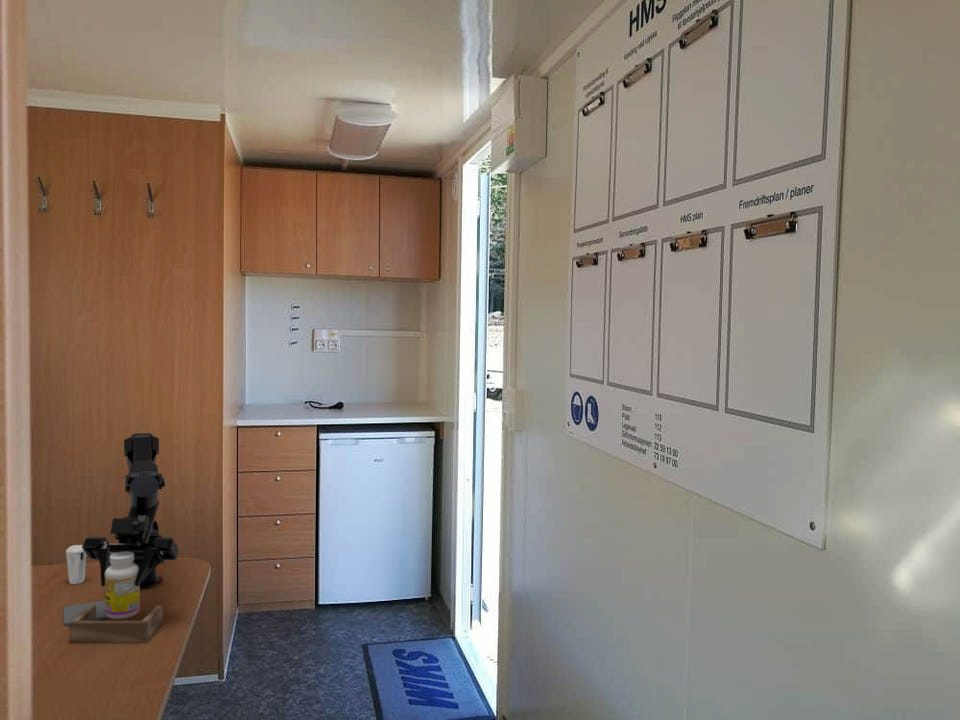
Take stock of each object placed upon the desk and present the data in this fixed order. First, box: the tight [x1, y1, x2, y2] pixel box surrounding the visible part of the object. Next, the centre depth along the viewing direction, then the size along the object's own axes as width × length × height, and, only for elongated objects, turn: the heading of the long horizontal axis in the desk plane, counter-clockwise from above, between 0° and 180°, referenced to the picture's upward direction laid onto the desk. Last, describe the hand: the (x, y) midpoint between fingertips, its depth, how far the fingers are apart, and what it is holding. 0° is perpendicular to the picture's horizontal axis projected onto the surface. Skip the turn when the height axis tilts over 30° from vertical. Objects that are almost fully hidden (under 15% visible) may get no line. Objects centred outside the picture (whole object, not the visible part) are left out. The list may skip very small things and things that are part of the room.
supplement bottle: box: [104, 551, 141, 620], centre depth 156 cm, size 7×7×13 cm
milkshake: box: [65, 544, 87, 585], centre depth 181 cm, size 4×5×10 cm
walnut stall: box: [68, 604, 164, 643], centre depth 154 cm, size 9×15×4 cm, turn 93°
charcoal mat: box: [63, 599, 110, 627], centre depth 163 cm, size 10×10×1 cm
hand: (119, 585), depth 155 cm, fingers closed on supplement bottle, 7 cm apart
